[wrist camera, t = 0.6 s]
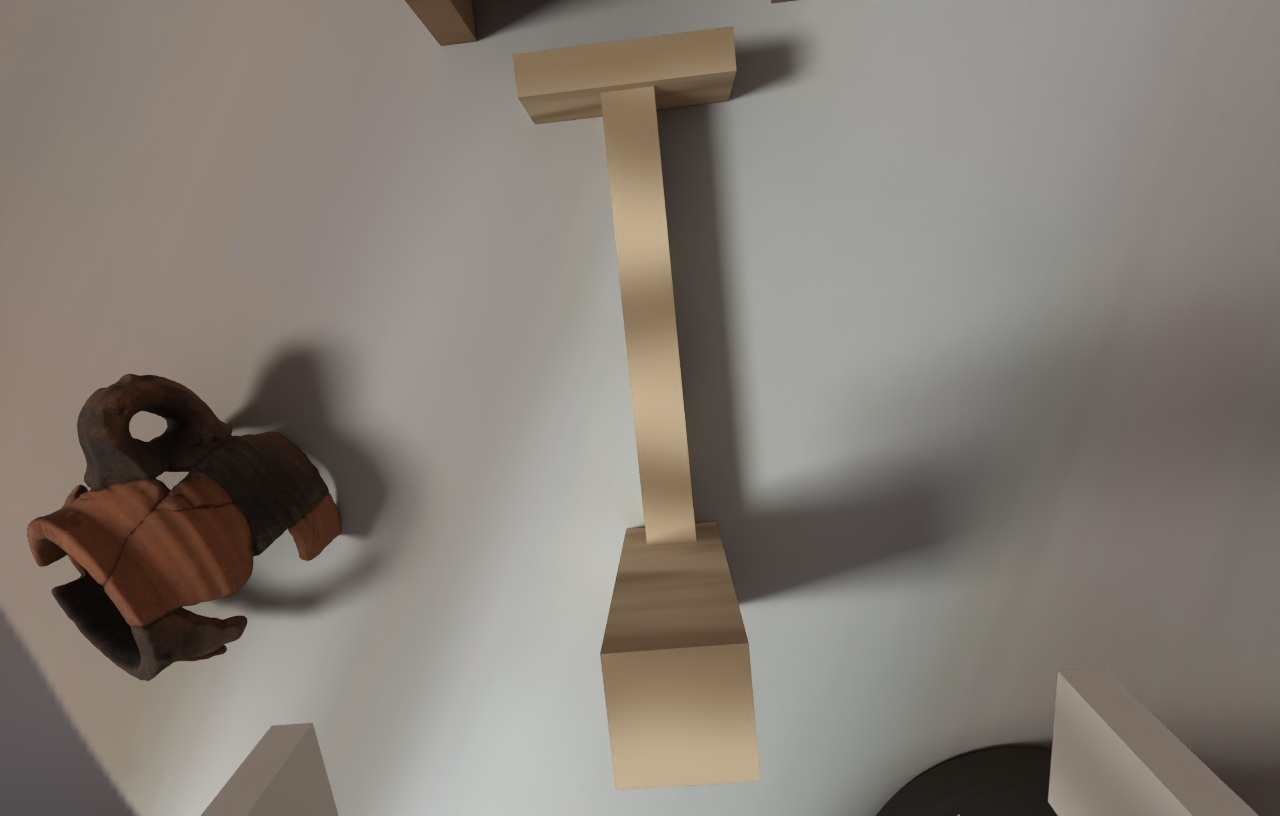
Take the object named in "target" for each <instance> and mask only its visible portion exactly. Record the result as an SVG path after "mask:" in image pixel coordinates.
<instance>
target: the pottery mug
mask: <svg viewBox="0 0 1280 816" xmlns="http://www.w3.org/2000/svg"><path fill="white" fill-rule="evenodd" d="M139 411H147V412H150V413H154V414H157V415H159V416H161V417H163V418H165V419H166V421H167V425H168V427H167V429H166V431H165V432H164V433H163V434H162V435H161V436H159V437H156V438H154V439H152V440H151V441H149V442H144V441H141V440H139V439H135V438H132V436H131V434H130V431H129V422H130V420H131V418H132V417H133V415H135V414H136V413H137V412H139ZM77 429H78V437H79V442H80V445H81V447H82V450H83V452H84V455H85V458H86V461H87V469H86V473H85V475H84V481H85V483H86V484H87V486H88V487H90V488H91V490H90V491H88V490H87V488H86V487H85V486H83V485H78V486H76V487H75V488H74V489H73V490H72V492H71V493H70V494H69V496H68V497H67V499H66V501H65V504H64V506H63V507H62V509H60V510H58V511H56V512H54V513H52V514H49V515H47V516H43V517H38V518H36V519H35V520H33V521H31V522H30V523H29V525H28V528H27V537H28V542H29V546H30V549H31V552H32V554H33V556H34V558H35V560H36V562H37V564H38V566H41V567H43V566H47V565H49V564H51V563H53V562H55V561H57V560H59V559H61V558H63V557H64V556H66V555H68V556H69V558H70V560H71V562H72V563H73V565H74V566H75V567H76V569H77V570H78V571H79V572H80V573H81V577H80V578H78V579H77V580H75V581H72V582H69V583H67V584H65V585H61V586H58V587H55V588H53V589H52V594H53V596H54V598H55V599H56V600H57V602H58V604H59V605H60V607H61V608H62V609H63V610H64V611H65V613H66V614H67V616H68V617H69V618H70V619H71V620H72V621H73V622H74V623H75V624H76V626H77V627H78V629H79V630H80V632H81V633H82V634H83V635H84V636H85V637H86V638H87V639H88V640H89V641H90V642H91V643H92V644H93V645H94V646H95V647H96V648H97V649H99V650H100V651H101V652H102V653H103V654H104V655H105V656H106V657H108V658H109V659H110V660H111V661H112V662H114V663H115V664H116V665H117V666H118V667H120V668H122V669H123V670H125V671H126V672H127V673H129V674H130V675H132V676H134V677H136V678H138V679H140V680H146V681H149V680H151V679H153V678H154V677H155V676H156V675H157V674H159V673H160V672H161V671H162V670H163V669H165V668H166V667H168V666H169V665H170V664H172V663H173V662H176V661H197V660H203V659H208V658H210V657H212V656H215V655H220V654H224V653H225V652H226V650H227V648H226V646H225V645H223V644H226V643H229V642H232V641H235V640H237V639H239V638H240V637H241V635H242V634H243V632H244V629H245V627H246V625H247V618H246V617H245V616H234V617H230V618H227V619H224V620H221V619H218V618H209V617H205V616H201V615H197V614H195V613H193V612H191V611H188V610H186V609H184V608H182V607H183V606H191V605H196V604H198V603H201V602H205V601H211V600H215V599H218V598H221V597H226V596H229V595H232V594H235V593H236V592H237V591H238V590H239V589H240V588H241V587H242V586H243V585H244V584H245V583H246V582H247V581H248V579H249V578H250V576H251V574H252V569H253V557H254V556H256V555H260V554H261V553H262V552H263V551H264V550H265V549H266V548H268V547H269V546H270V545H271V544H272V543H273V542H274V540H276V539H277V538H278V537H279V536H281V535H282V534H283V533H284V531H285V530H286V529H287V528H288V530H289V532H290V534H291V535H292V536H293V538H294V541H295V543H296V546H297V549H298V552H299V557H300V558H301V559H302V560H306V561H309V560H312V559H313V558H315V557H316V556H318V555H319V554H320V553H321V552H322V550H323V549H324V548H325V547H326V546H327V545H328V544H329V543H331V541H332V540H333V539H334V538H335V537H337V536H338V535H339V534H340V532H341V526H340V517H339V514H338V511H337V507H336V505H335V503H334V501H333V499H332V496H331V494H330V493H329V490H328V487H327V486H326V484H325V482H324V481H323V479H322V478H321V476H320V474H319V471H318V469H317V468H316V467H315V466H314V465H313V464H312V463H311V462H310V460H309V459H308V457H307V456H306V454H305V453H303V452H302V451H301V450H300V448H299V447H297V446H296V445H295V444H293V443H291V442H290V441H289V440H287V439H286V438H284V437H283V436H281V435H279V434H277V433H275V432H266V433H262V434H256V435H251V434H248V435H243V436H232V435H231V433H232V429H233V428H232V426H230V425H228V424H226V423H224V422H222V421H220V420H219V419H218V418H217V417H216V415H215V414H214V413H213V411H212V410H211V409H210V408H209V407H208V406H207V404H206V403H205V402H203V401H202V400H201V399H200V398H199V397H198V396H197V395H196V394H195V393H194V392H193V391H191V390H190V389H188V388H187V387H185V386H184V385H182V384H180V383H177V382H175V381H172V380H169V379H167V378H164V377H159V376H155V375H144V376H138V375H134V374H127V375H124V376H123V377H121V378H120V380H119V381H118V382H116V383H115V384H113V385H111V386H109V387H107V388H100V389H98V390H97V391H95V392H94V393H93V394H92V395H91V396H90V398H89V399H88V400H87V401H86V403H85V405H84V406H83V408H82V410H81V412H80V414H79V417H78V423H77ZM165 471H167V472H189V473H188V475H187V476H186V477H185V478H184V479H183V480H181V481H180V482H179V483H178V484H177V485H176V486H174V487H173V489H172V490H170V489H168V488H167V486H166V485H165V484H164V483H163V482H161V481H159V480H157V479H155V478H156V477H157V476H159V475H161V474H162V473H163V472H165Z"/></svg>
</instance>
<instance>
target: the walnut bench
mask: <svg viewBox="0 0 1280 816" xmlns="http://www.w3.org/2000/svg"><path fill="white" fill-rule="evenodd" d="M405 1H406V2H407V4H408V5H409V6H410V7H411V9H412V10H413V11H414V12H415V14H416V15H417V16H418V17H419V19H420V20H421V21H422V23H423V24H424V25H425V26H426V28H427V29H428V30H429V31H430V33H431V34H432V35H433V37H434V38H435V39H436V40H437V42H438V43H439V44H440V45H441V46H442V45H450V44H457V43H465V42H473V41H476V33H475V25H474V17H473V8H472V0H405ZM784 1H792V0H771V3H776V2H784Z"/></svg>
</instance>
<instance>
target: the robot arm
mask: <svg viewBox="0 0 1280 816" xmlns="http://www.w3.org/2000/svg"><path fill="white" fill-rule="evenodd" d="M201 816H338V812H337V809H336V805H335V801H334V798H333V794H332V791H331V787H330V783H329V780H328V776H327V773H326V769H325V765H324V762H323V758H322V755H321V751H320V747H319V744H318V740H317V737H316V733H315V729H314V726H313V723H306V724H291V725H277V726H271V727H270V729H269V730H268V731H267V733H266V734H265V735H264V736H263V738H262V739H261V740H260V741H259V743H258V744H257V745H256V746H255V748H254V749H253V750H252V752H251V753H250V754H249V755H248V757H247V758H246V759H245V760H244V762H243V763H242V764H241V765H240V767H239V768H238V769H237V771H236V772H235V773H234V774H233V776H232V777H231V778H230V779H229V781H228V782H227V783H226V784H225V786H224V787H223V788H222V790H221V791H220V792H219V793H218V795H217V796H216V797H215V798H214V800H213V801H212V802H211V803H210V805H209V806H208V807H207V809H206V810H205V811H204V812H203V814H202V815H201ZM876 816H1258V815H1257V814H1256V813H1255V812H1254V811H1253V810H1252V809H1251V808H1250V807H1249V806H1248V805H1247V804H1246V803H1245V802H1244V801H1243V800H1242V799H1241V798H1240V797H1239V796H1238V795H1236V794H1235V793H1234V792H1233V791H1232V790H1231V789H1230V788H1229V787H1228V786H1227V785H1226V784H1225V783H1224V782H1223V781H1222V780H1221V779H1220V778H1219V777H1218V776H1217V775H1216V774H1214V773H1213V772H1212V771H1211V770H1210V769H1209V768H1208V767H1207V766H1206V765H1205V764H1204V763H1203V762H1202V761H1201V760H1200V759H1199V758H1198V757H1197V756H1196V755H1195V754H1194V753H1192V752H1191V751H1190V750H1189V749H1188V748H1187V747H1186V746H1185V745H1184V744H1183V743H1182V742H1181V741H1180V740H1179V739H1178V738H1177V737H1176V736H1175V735H1174V734H1173V733H1172V732H1170V731H1169V730H1168V729H1167V728H1166V727H1165V726H1164V725H1163V724H1162V723H1161V722H1160V721H1159V720H1158V719H1157V718H1156V717H1155V716H1154V715H1153V714H1152V713H1151V712H1150V711H1148V710H1147V709H1146V708H1145V707H1144V706H1143V705H1142V704H1141V703H1140V702H1139V701H1138V700H1137V699H1136V698H1135V697H1134V696H1133V695H1132V694H1131V693H1130V692H1129V691H1128V690H1126V689H1125V688H1124V687H1123V686H1122V685H1121V684H1120V683H1119V682H1118V681H1117V680H1116V679H1115V678H1114V677H1113V676H1112V675H1111V674H1110V673H1109V672H1108V671H1107V670H1106V669H1104V668H1103V669H1088V670H1074V671H1059V672H1058V680H1057V692H1056V705H1055V718H1054V730H1053V743H1052V750H1048V749H1040V748H1024V747H1016V748H1000V749H992V750H986V751H981V752H976V753H972V754H968V755H965V756H962V757H959V758H956V759H953V760H951V761H948V762H945V763H943V764H941V765H939V766H937V767H935V768H933V769H931V770H929V771H927V772H926V773H924V774H922V775H921V776H919V777H918V778H916V779H914V780H913V781H912V782H910V783H909V784H908V785H906V786H905V787H904V788H902V789H901V790H900V791H899V792H898V793H897V794H896V795H894V796H893V797H892V798H891V799H890V800H889V801H888V802H887V803H886V804H885V806H884V807H883V808H882V809H881V810H880V812H879V813H878V814H877V815H876Z"/></svg>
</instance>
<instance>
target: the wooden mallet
mask: <svg viewBox="0 0 1280 816" xmlns="http://www.w3.org/2000/svg"><path fill="white" fill-rule="evenodd" d="M513 59H514V68H515V76H516V85H517V93H518V98H519V100H520V101H521V103H522V105H523V106H524V108H525V109H526V111H527V113H528V114H529V116H530V117H531V119H532V120H533V122H534V124H542V123H550V122H558V121H567V120H575V119H583V118H591V117H600V116H603V123H604V132H605V142H606V152H607V161H608V171H609V181H610V191H611V200H612V210H613V220H614V230H615V239H616V249H617V259H618V268H619V278H620V288H621V298H622V307H623V317H624V327H625V336H626V346H627V356H628V366H629V375H630V385H631V395H632V405H633V414H634V424H635V434H636V443H637V453H638V463H639V473H640V482H641V492H642V502H643V511H644V521H645V527H643V528H632V529H626V533H625V538H624V543H623V548H622V553H621V557H620V562H619V567H618V572H617V577H616V581H615V586H614V591H613V596H612V600H611V605H610V610H609V615H608V620H607V624H606V629H605V634H604V639H603V644H602V648H601V653H600V656H601V664H602V673H603V682H604V691H605V700H606V708H607V717H608V726H609V735H610V744H611V752H612V761H613V770H614V779H615V787H616V790H623V789H639V788H655V787H671V786H687V785H703V784H719V783H735V782H751V781H760V772H759V760H758V748H757V736H756V725H755V713H754V701H753V690H752V678H751V666H750V655H749V643H748V639H747V635H746V632H745V628H744V624H743V620H742V616H741V612H740V609H739V605H738V601H737V597H736V593H735V590H734V586H733V582H732V578H731V574H730V570H729V567H728V563H727V559H726V555H725V551H724V548H723V544H722V540H721V536H720V532H719V528H718V525H717V521H714V522H702V523H695V520H694V509H693V498H692V488H691V477H690V466H689V456H688V445H687V434H686V424H685V413H684V402H683V392H682V381H681V370H680V360H679V349H678V338H677V327H676V317H675V306H674V295H673V285H672V274H671V263H670V253H669V242H668V231H667V221H666V210H665V199H664V189H663V178H662V167H661V156H660V146H659V135H658V124H657V114H656V110H658V109H666V108H674V107H682V106H691V105H699V104H707V103H716V102H724V101H729V97H730V94H731V90H732V86H733V82H734V78H735V75H736V71H737V70H736V57H735V44H734V32H733V27H725V28H717V29H710V30H702V31H694V32H686V33H678V34H670V35H662V36H655V37H647V38H639V39H631V40H623V41H615V42H607V43H600V44H592V45H584V46H576V47H568V48H560V49H552V50H545V51H537V52H529V53H521V54H513Z"/></svg>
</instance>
